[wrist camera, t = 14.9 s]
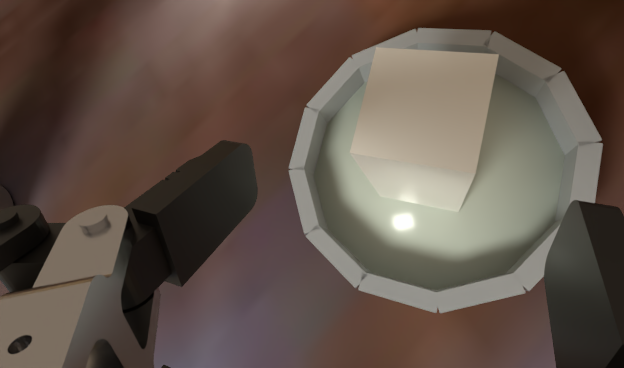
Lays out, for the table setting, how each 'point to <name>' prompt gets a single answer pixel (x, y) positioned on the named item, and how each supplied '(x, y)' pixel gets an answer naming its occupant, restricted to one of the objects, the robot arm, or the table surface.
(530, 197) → the round tray
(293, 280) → the table surface
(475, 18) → the table surface
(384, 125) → the cream rectangular block
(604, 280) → the robot arm
